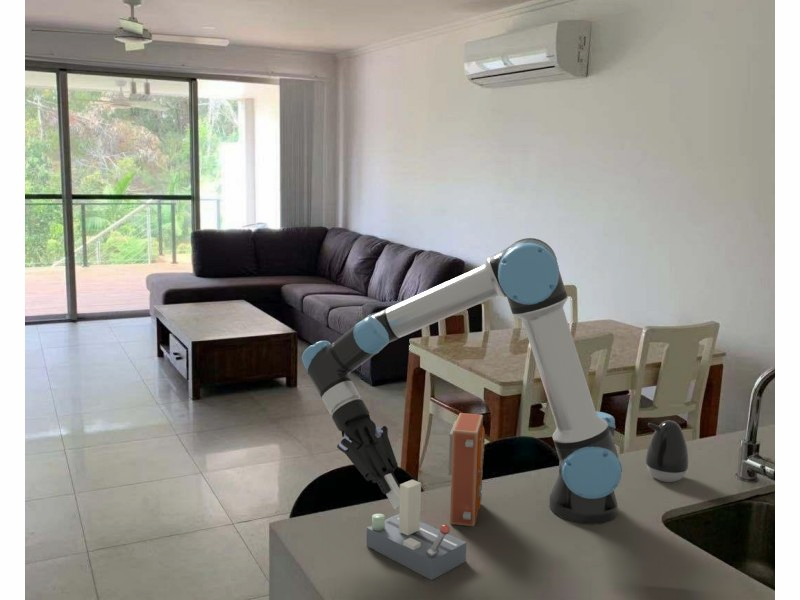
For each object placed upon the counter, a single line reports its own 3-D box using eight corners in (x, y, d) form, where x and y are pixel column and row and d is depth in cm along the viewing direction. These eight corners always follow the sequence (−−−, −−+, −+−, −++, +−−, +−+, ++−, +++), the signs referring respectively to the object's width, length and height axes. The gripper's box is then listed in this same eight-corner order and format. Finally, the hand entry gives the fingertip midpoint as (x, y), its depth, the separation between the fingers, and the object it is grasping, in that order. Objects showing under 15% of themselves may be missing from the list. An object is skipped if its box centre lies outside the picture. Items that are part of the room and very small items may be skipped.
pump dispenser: (640, 469, 195) (644, 413, 192) (681, 471, 193) (686, 415, 191) (647, 484, 185) (652, 426, 182) (691, 487, 183) (696, 428, 181)
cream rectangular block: (399, 531, 149) (399, 484, 147) (411, 525, 152) (412, 479, 150) (407, 535, 147) (408, 488, 146) (420, 529, 150) (421, 483, 148)
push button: (369, 527, 151) (369, 516, 150) (378, 523, 152) (378, 512, 152) (378, 531, 149) (378, 520, 148) (387, 527, 151) (387, 516, 150)
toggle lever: (424, 552, 140) (440, 524, 137) (431, 548, 142) (447, 521, 138) (430, 559, 139) (446, 531, 136) (437, 555, 141) (453, 528, 137)
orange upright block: (483, 500, 174) (477, 529, 160) (453, 497, 175) (444, 526, 161) (486, 412, 171) (480, 434, 156) (456, 410, 172) (447, 431, 157)
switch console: (366, 545, 152) (366, 524, 151) (400, 530, 159) (401, 509, 158) (431, 580, 139) (432, 556, 139) (465, 561, 146) (466, 538, 146)
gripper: (360, 409, 166) (413, 503, 157) (314, 422, 157) (367, 523, 148) (377, 392, 161) (432, 487, 153) (330, 404, 152) (386, 507, 143)
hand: (400, 505), depth 150 cm, fingers closed
